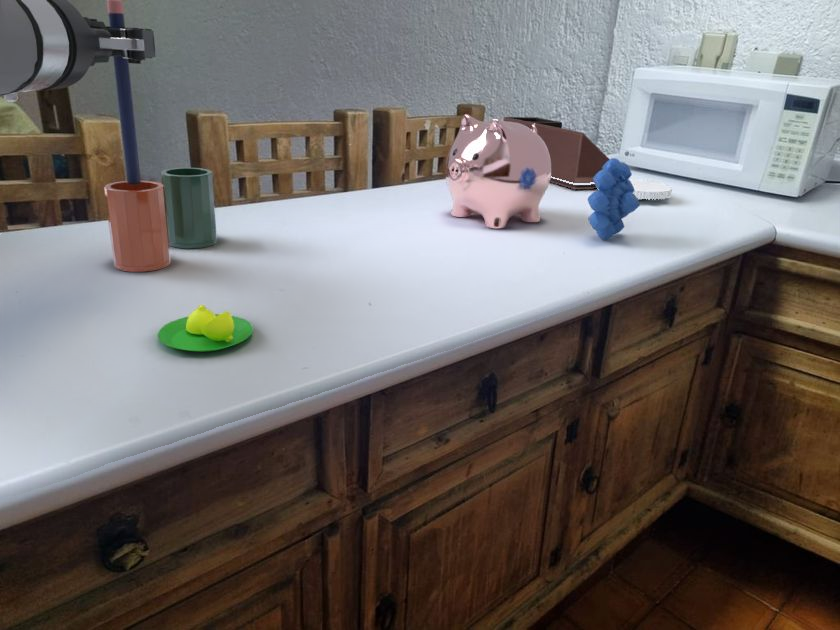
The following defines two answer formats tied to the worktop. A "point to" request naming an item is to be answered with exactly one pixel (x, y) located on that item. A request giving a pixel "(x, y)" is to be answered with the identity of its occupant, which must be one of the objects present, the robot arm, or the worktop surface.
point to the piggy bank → (497, 171)
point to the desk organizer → (567, 152)
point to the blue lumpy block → (611, 198)
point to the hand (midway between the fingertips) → (139, 41)
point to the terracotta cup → (138, 225)
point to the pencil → (125, 99)
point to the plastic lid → (650, 189)
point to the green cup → (190, 207)
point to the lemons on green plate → (205, 331)
